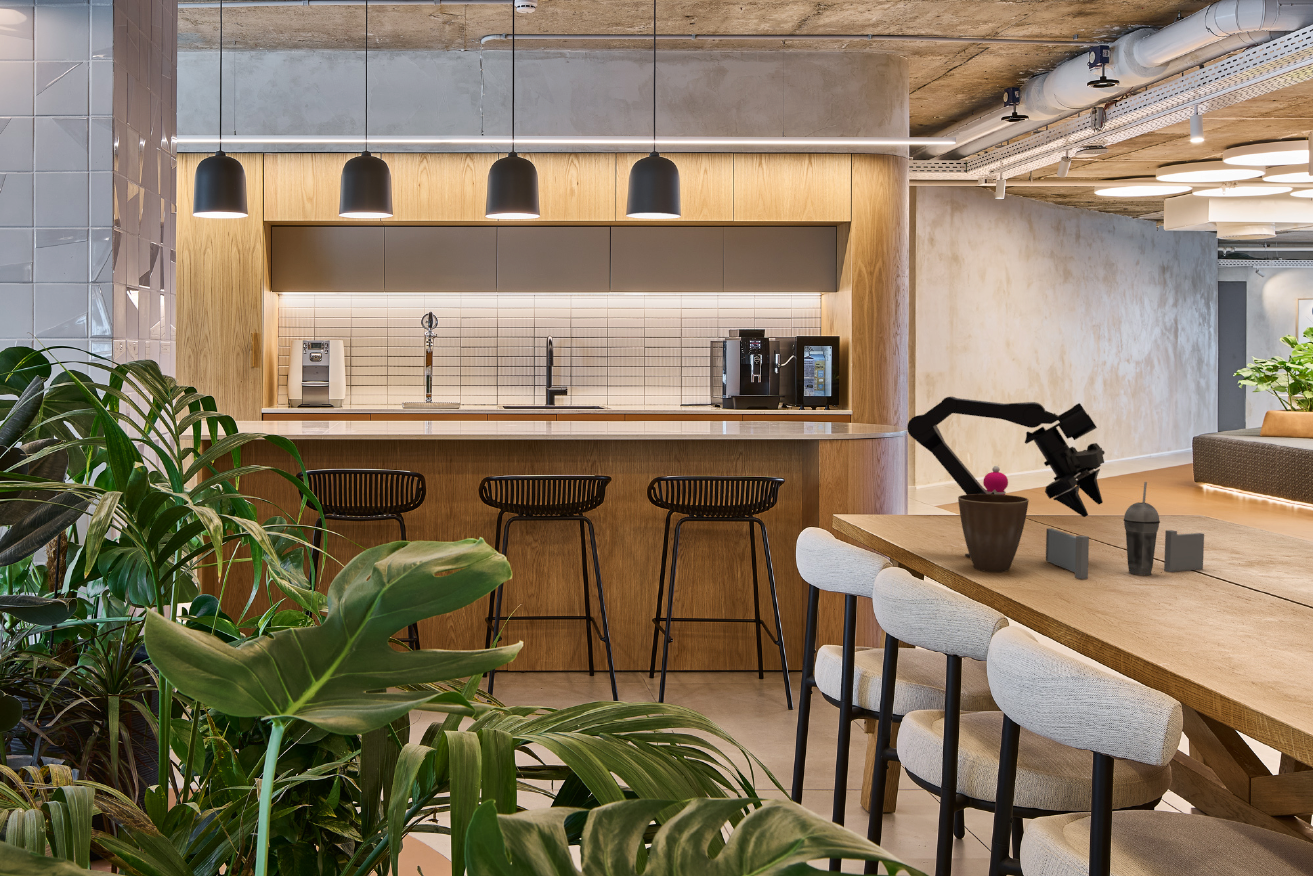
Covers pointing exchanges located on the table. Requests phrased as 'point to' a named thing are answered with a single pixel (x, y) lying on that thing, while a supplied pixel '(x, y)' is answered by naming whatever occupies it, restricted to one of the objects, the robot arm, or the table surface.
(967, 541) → the plant pot
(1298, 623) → the table surface
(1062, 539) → the grey thin rectangular panel
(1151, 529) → the beverage cup
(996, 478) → the pepper mill
